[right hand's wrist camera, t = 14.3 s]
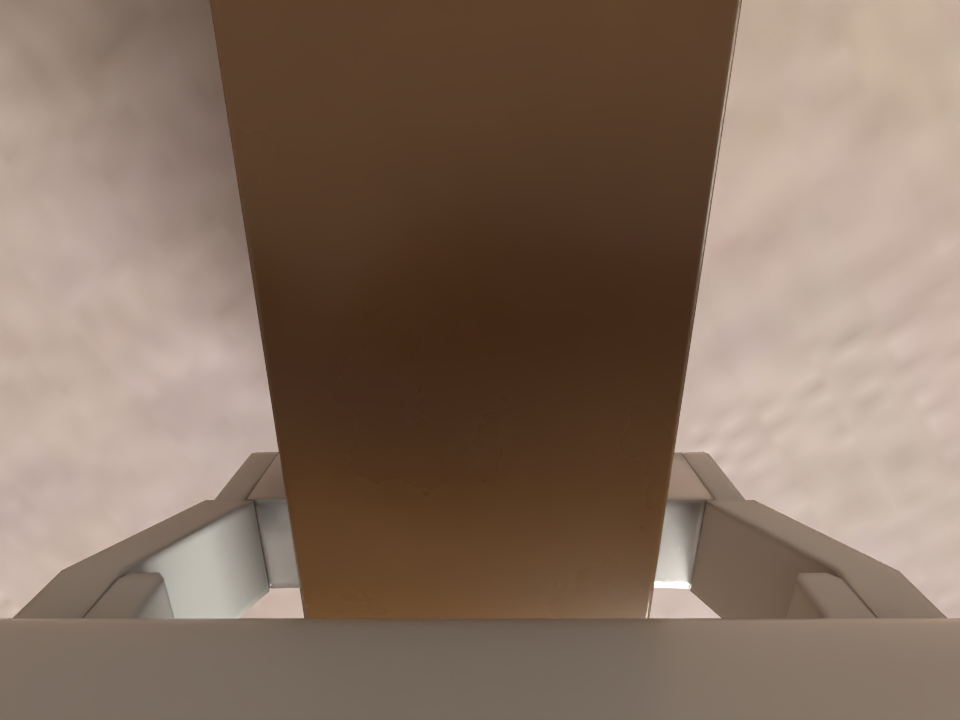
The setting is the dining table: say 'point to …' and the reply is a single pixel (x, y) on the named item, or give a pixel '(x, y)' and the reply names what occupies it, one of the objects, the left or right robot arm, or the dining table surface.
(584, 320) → the bar
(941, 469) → the dining table surface
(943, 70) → the dining table surface
